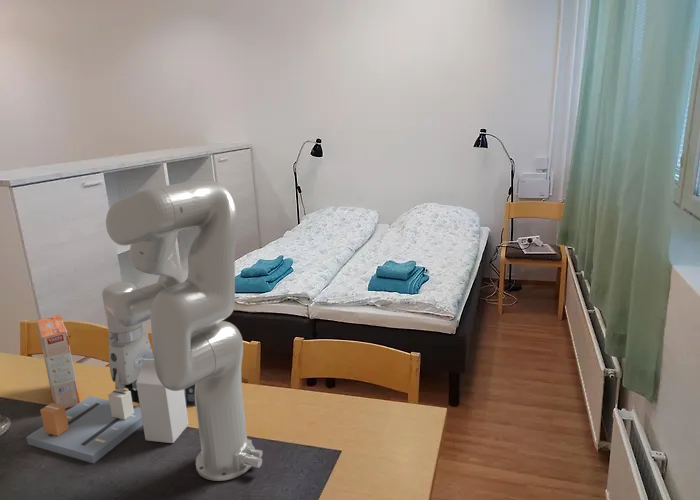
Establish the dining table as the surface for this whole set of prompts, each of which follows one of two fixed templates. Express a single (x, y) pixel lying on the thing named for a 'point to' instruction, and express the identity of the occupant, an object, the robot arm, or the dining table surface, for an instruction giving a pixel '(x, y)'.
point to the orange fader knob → (54, 419)
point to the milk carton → (160, 406)
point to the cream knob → (121, 403)
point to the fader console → (88, 431)
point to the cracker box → (58, 361)
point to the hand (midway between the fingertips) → (137, 400)
